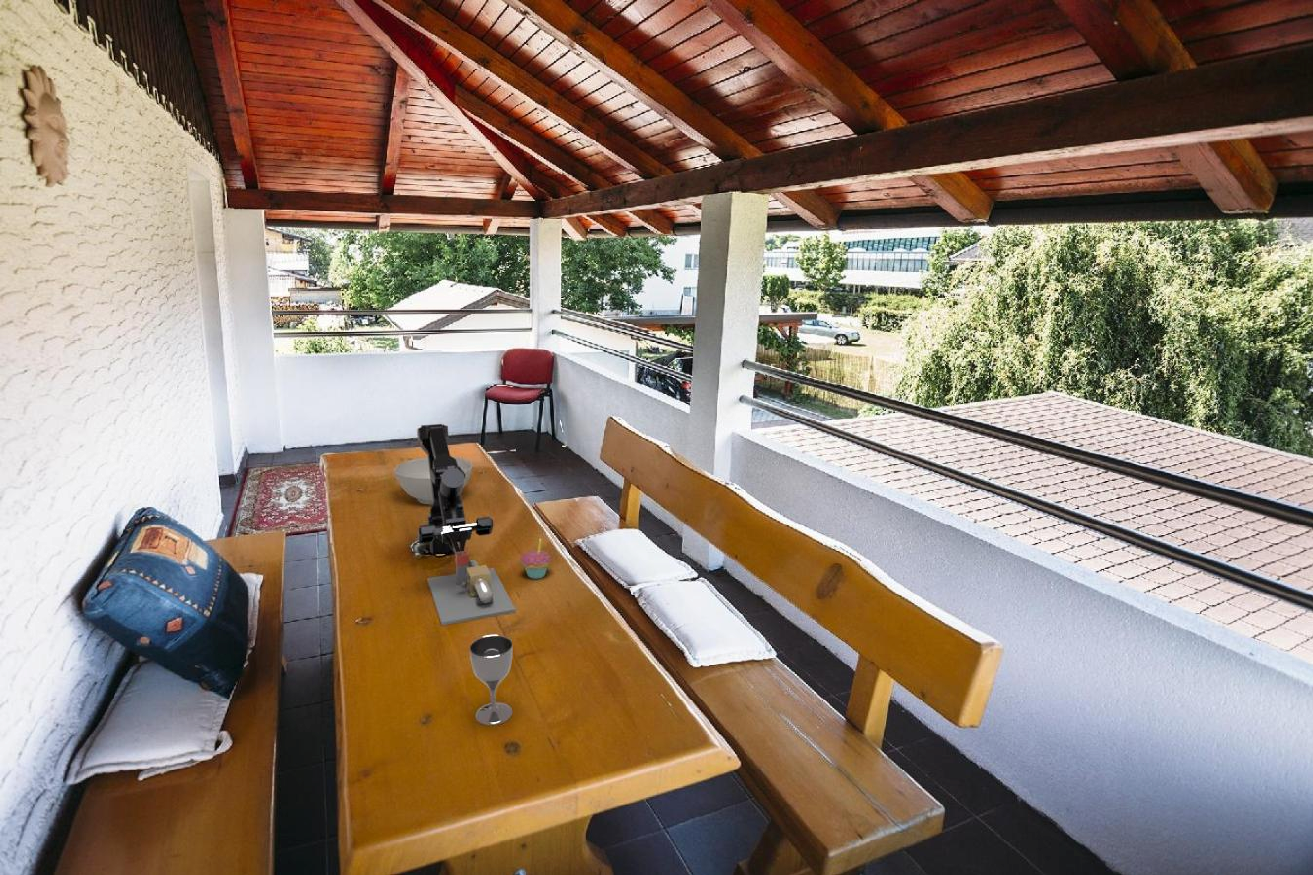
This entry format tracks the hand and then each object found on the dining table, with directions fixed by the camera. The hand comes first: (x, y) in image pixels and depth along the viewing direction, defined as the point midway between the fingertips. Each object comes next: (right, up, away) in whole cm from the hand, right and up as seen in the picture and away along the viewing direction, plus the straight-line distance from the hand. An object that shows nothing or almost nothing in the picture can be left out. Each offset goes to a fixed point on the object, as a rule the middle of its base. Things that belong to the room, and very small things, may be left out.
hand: (461, 560), depth 184 cm
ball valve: (+3, -10, +6) cm, 12 cm away
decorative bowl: (-30, +9, +76) cm, 82 cm away
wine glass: (+18, -23, -42) cm, 51 cm away
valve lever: (-1, -7, +4) cm, 9 cm away
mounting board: (+1, -10, +5) cm, 12 cm away
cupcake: (+16, -7, +18) cm, 25 cm away
